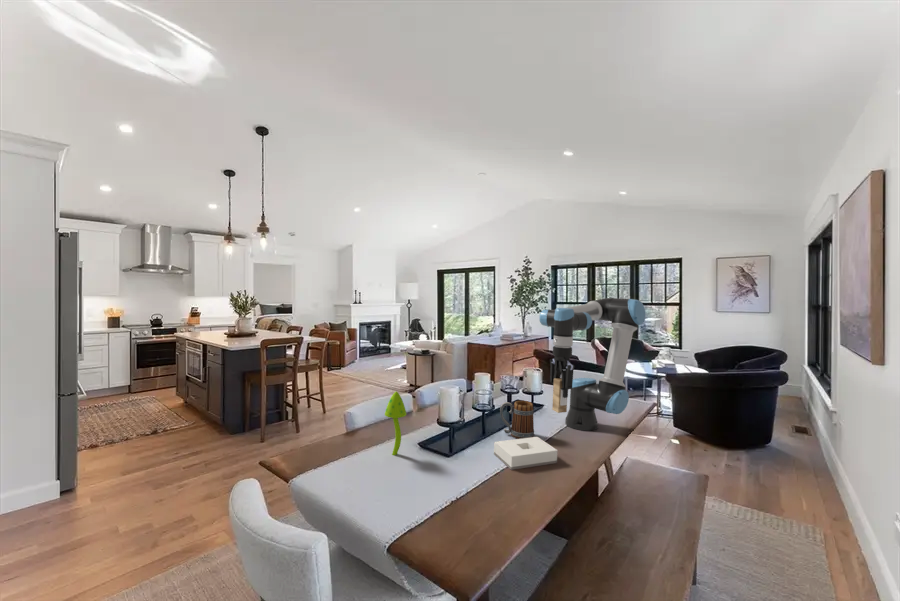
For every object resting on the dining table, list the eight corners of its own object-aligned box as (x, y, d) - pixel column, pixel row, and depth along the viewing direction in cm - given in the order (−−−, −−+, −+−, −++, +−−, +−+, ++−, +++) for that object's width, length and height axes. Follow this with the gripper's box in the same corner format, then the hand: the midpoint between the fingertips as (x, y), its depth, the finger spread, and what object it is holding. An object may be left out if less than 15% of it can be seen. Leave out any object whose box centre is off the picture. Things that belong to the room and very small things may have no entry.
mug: (532, 432, 188) (534, 400, 187) (535, 441, 177) (536, 407, 177) (498, 430, 190) (500, 398, 189) (499, 438, 179) (500, 405, 178)
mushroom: (388, 448, 164) (389, 387, 163) (407, 451, 163) (409, 389, 162) (380, 457, 156) (382, 393, 155) (401, 460, 155) (403, 395, 153)
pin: (560, 409, 168) (562, 377, 167) (566, 412, 164) (568, 380, 164) (552, 409, 167) (553, 378, 166) (558, 412, 163) (559, 380, 162)
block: (536, 448, 170) (537, 436, 170) (556, 462, 157) (557, 450, 157) (493, 454, 163) (494, 441, 163) (511, 469, 150) (511, 456, 149)
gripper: (542, 343, 171) (540, 398, 172) (568, 350, 155) (565, 410, 156) (557, 342, 173) (555, 396, 175) (584, 349, 158) (581, 409, 159)
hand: (559, 403), depth 165 cm, fingers closed on pin, 4 cm apart
